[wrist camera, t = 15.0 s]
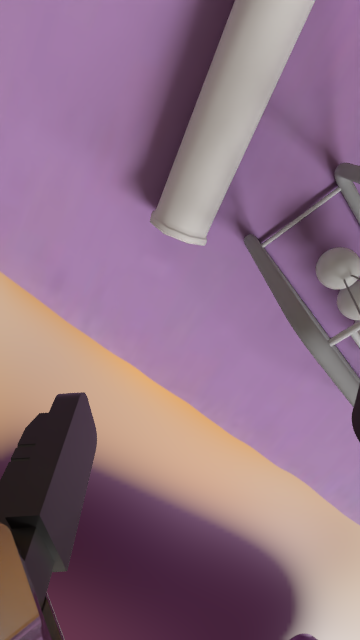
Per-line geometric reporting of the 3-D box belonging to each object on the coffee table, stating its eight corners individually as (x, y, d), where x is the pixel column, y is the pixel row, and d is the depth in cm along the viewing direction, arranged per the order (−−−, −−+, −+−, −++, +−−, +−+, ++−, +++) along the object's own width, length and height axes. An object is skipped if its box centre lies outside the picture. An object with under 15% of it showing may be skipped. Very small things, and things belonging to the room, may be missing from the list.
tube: (290, -202, 20) (142, 211, 31) (356, -268, 16) (158, 234, 27) (348, -129, 22) (191, 227, 34) (417, -169, 18) (213, 251, 30)
